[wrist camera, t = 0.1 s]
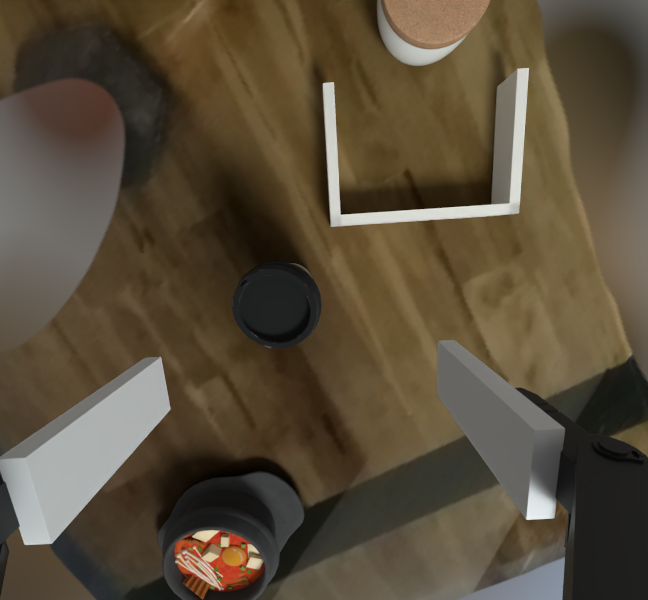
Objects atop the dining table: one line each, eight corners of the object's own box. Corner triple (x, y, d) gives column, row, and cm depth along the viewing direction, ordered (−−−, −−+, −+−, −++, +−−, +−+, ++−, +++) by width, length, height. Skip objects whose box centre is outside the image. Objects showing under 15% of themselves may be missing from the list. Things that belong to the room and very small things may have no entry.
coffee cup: (289, 240, 40) (269, 243, 26) (334, 283, 42) (340, 309, 27) (248, 285, 42) (207, 312, 27) (294, 325, 43) (278, 372, 28)
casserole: (209, 585, 53) (188, 649, 45) (139, 511, 50) (102, 566, 41) (327, 519, 50) (328, 575, 42) (261, 437, 47) (247, 480, 39)
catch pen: (322, 99, 37) (322, 83, 33) (506, 86, 37) (528, 68, 33) (330, 226, 40) (331, 225, 36) (499, 215, 40) (519, 213, 36)
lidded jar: (439, -43, 34) (482, -146, 25) (473, 55, 36) (524, -6, 27) (353, 7, 35) (364, -74, 26) (390, 100, 37) (412, 55, 28)
